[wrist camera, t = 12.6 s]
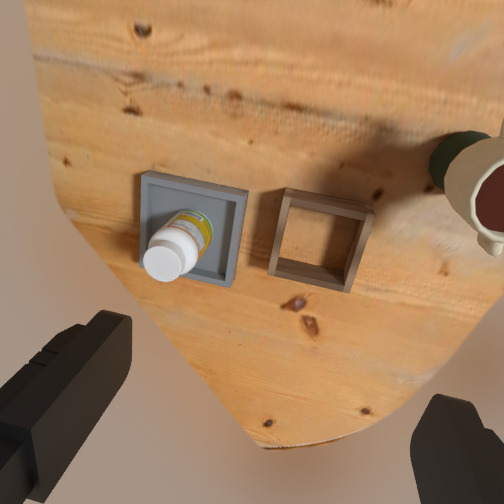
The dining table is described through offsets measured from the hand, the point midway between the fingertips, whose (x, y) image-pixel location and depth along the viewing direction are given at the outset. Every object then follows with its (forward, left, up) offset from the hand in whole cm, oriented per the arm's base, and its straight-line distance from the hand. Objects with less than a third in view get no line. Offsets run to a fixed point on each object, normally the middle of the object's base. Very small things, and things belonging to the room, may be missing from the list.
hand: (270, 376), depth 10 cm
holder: (+9, +3, -33) cm, 34 cm away
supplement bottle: (+11, -12, -32) cm, 36 cm away
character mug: (-2, +15, -33) cm, 37 cm away
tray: (+12, -12, -33) cm, 37 cm away
